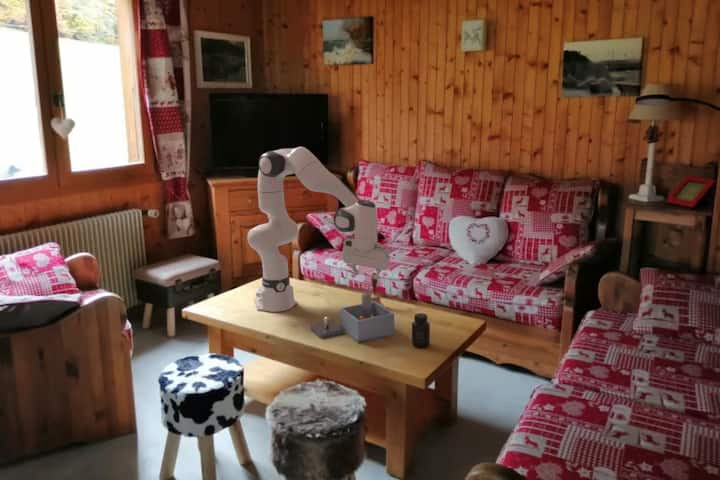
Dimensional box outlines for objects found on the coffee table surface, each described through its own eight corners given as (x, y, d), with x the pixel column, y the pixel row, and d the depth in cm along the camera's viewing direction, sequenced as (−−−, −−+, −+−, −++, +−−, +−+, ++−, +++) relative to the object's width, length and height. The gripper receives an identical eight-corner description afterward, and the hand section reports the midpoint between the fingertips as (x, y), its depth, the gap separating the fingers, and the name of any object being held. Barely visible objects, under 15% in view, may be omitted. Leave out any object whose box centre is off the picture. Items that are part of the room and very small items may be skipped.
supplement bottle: (433, 344, 223) (433, 314, 220) (422, 350, 218) (423, 320, 215) (418, 339, 227) (419, 310, 224) (408, 345, 222) (408, 315, 219)
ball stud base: (310, 329, 238) (310, 315, 237) (333, 325, 243) (332, 310, 241) (320, 338, 230) (319, 323, 228) (343, 333, 234) (343, 318, 232)
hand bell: (361, 307, 263) (361, 272, 259) (375, 302, 268) (375, 269, 264) (374, 312, 257) (373, 277, 253) (388, 307, 262) (387, 273, 258)
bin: (340, 328, 239) (339, 308, 237) (375, 321, 246) (374, 301, 243) (358, 343, 225) (357, 321, 223) (394, 335, 232) (394, 313, 230)
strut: (365, 326, 238) (364, 292, 234) (374, 328, 236) (373, 294, 232) (359, 330, 234) (358, 295, 231) (368, 332, 232) (368, 297, 228)
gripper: (393, 244, 223) (392, 279, 227) (348, 237, 234) (349, 270, 238) (385, 248, 218) (384, 283, 222) (339, 240, 229) (340, 274, 232)
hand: (365, 276), depth 230 cm, fingers open, 8 cm apart
